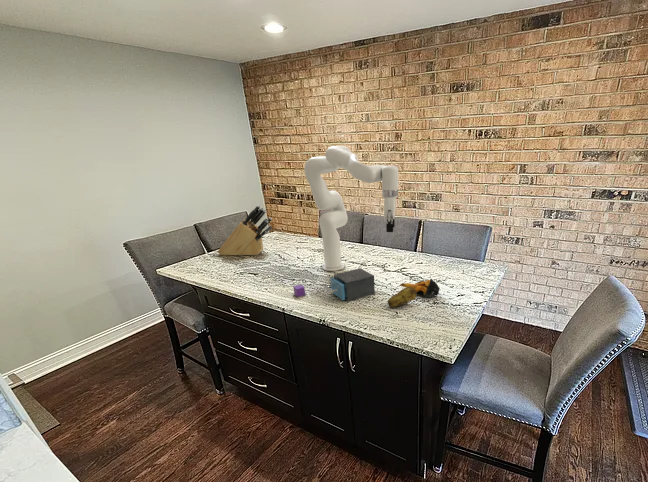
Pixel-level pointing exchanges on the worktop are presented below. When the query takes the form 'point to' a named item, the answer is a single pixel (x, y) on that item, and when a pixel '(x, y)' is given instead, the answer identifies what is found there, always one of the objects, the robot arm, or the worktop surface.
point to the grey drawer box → (357, 283)
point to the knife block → (247, 236)
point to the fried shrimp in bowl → (424, 288)
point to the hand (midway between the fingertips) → (390, 229)
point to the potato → (402, 297)
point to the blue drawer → (337, 288)
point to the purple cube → (299, 290)
